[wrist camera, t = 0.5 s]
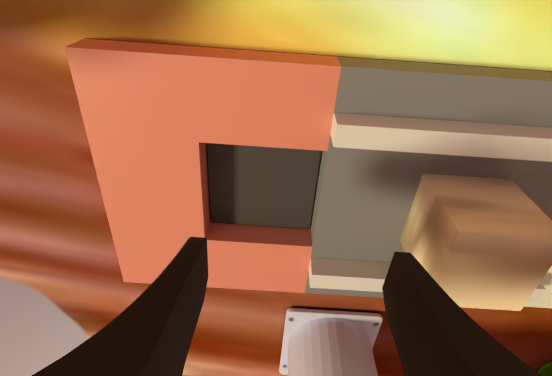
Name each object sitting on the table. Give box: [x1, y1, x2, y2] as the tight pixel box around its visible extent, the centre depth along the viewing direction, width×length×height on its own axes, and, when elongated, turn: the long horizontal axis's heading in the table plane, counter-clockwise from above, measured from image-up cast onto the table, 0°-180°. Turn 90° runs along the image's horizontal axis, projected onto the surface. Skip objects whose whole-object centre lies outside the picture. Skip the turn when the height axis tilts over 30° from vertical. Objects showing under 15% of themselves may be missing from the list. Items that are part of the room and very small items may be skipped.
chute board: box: [65, 39, 552, 308], centre depth 22 cm, size 16×42×4 cm, turn 86°
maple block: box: [400, 174, 552, 311], centre depth 19 cm, size 5×5×5 cm
